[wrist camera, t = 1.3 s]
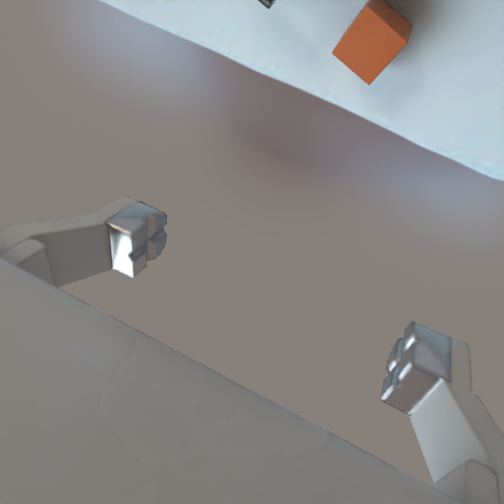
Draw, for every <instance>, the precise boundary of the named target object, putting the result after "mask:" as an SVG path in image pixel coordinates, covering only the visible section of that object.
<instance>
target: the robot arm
mask: <svg viewBox="0 0 504 504" xmlns="http://www.w3.org/2000/svg"><path fill="white" fill-rule="evenodd" d="M166 224H167V215H166V214H165V213H164V212H162V211H159V210H157V209H155V208H153V207H151V206H149V205H147V204H145V203H143V202H141V201H137V200H136V199H133V198H131V197H129V196H123V197H121V198H120V199H118V200H116V201H115V202H113V203H111V204H110V205H108V206H106V207H105V208H103V209H101V210H100V211H98V212H96V213H95V214H93V215H91V216H89V215H87V214H86V215H78V216H71V217H63V218H56V219H49V220H41V221H35V222H27V223H19V224H12V225H8V226H6V227H4V228H2V229H0V504H504V434H503V433H502V431H501V430H500V428H499V427H498V425H497V424H496V423H495V421H494V419H493V418H492V416H491V415H490V413H489V412H488V410H487V409H486V407H485V405H484V404H483V403H482V401H481V399H480V398H479V396H477V395H475V394H473V393H472V376H471V357H470V356H471V355H470V347H469V345H468V344H467V343H464V342H462V341H459V340H457V339H454V338H452V337H450V336H449V337H448V336H446V335H444V334H442V333H439V332H437V331H434V330H432V329H430V328H428V327H425V326H423V325H421V324H418V323H416V322H413V321H412V322H411V323H410V324H409V325H408V326H407V327H406V329H405V333H404V338H400V339H398V340H397V342H396V343H395V345H394V346H393V348H392V351H391V353H390V355H389V358H388V361H387V366H386V369H387V371H388V373H389V374H388V376H387V377H386V379H385V380H384V382H383V388H382V394H381V399H380V400H381V401H383V402H385V403H387V404H388V405H390V406H392V407H394V408H396V409H398V410H400V411H402V412H404V413H406V414H408V415H410V420H411V422H412V425H413V428H414V430H415V433H416V436H417V438H418V441H419V444H420V447H421V449H422V452H423V455H424V457H425V460H426V463H427V466H428V468H429V471H430V474H431V476H432V479H433V482H434V484H432V485H431V486H430V485H429V484H427V483H425V482H423V481H421V480H419V479H417V478H415V477H414V476H412V475H410V474H408V473H406V472H404V471H402V470H400V469H398V468H397V467H395V466H393V465H391V464H389V463H387V462H385V461H383V460H381V459H379V458H378V457H376V456H374V455H372V454H370V453H368V452H367V451H365V450H363V449H361V448H359V447H357V446H355V445H353V444H351V443H350V442H348V441H346V440H344V439H342V438H340V437H338V436H336V435H335V434H333V433H331V432H329V431H327V430H325V429H323V428H321V427H319V426H318V425H316V424H314V423H312V422H310V421H308V420H306V419H304V418H303V417H301V416H299V415H297V414H295V413H293V412H291V411H289V410H287V409H286V408H284V407H282V406H280V405H278V404H276V403H274V402H272V401H271V400H269V399H267V398H265V397H263V396H261V395H259V394H257V393H256V392H254V391H252V390H250V389H248V388H246V387H244V386H242V385H240V384H238V383H237V382H235V381H233V380H231V379H229V378H227V377H225V376H223V375H222V374H220V373H218V372H216V371H214V370H212V369H210V368H208V367H207V366H205V365H203V364H201V363H199V362H197V361H195V360H193V359H191V358H190V357H188V356H186V355H184V354H182V353H180V352H178V351H177V350H174V349H173V348H171V347H169V346H167V345H165V344H163V343H161V342H160V341H158V340H156V339H154V338H152V337H150V336H148V335H146V334H145V333H143V332H141V331H139V330H137V329H135V328H133V327H131V326H129V325H128V324H126V323H124V322H122V321H120V320H118V319H116V318H114V317H113V316H111V315H109V314H107V313H105V312H103V311H101V310H99V309H98V308H96V307H94V306H92V305H90V304H88V303H86V302H84V301H82V300H80V299H79V298H77V297H75V296H73V295H71V294H69V293H67V292H65V291H64V290H62V289H60V288H58V287H60V286H63V285H66V284H69V283H72V282H75V281H78V280H81V279H84V278H87V277H90V276H93V275H96V274H99V273H102V272H105V271H108V270H111V269H112V268H113V269H115V270H117V271H119V272H121V273H124V274H126V275H128V276H130V277H133V278H134V277H135V276H136V275H137V274H138V273H140V272H141V271H142V270H143V269H144V268H145V267H146V265H147V261H148V260H153V259H155V258H157V257H158V256H159V255H160V254H161V252H162V250H163V249H164V247H165V244H166V238H167V234H166V233H165V230H164V228H163V227H164V226H165V225H166Z"/></svg>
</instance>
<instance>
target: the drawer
mask: <svg viewBox="0 0 504 504" xmlns="http://www.w3.org/2000/svg"><path fill="white" fill-rule="evenodd" d="M258 1H259V2H261V3H262V4H263V5H264V6H265V7H266V8H268V9H270V8H271V6H272V5H273V4H274V2H275V0H258Z"/></svg>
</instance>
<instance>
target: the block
mask: <svg viewBox="0 0 504 504" xmlns="http://www.w3.org/2000/svg"><path fill="white" fill-rule="evenodd" d="M411 29H412V25H411V24H409V23H408V22H407V21H406V20H405V19H404V18H403V17H402V16H401V15H400V14H399V13H397V12H396V11H395V10H394V9H393V8H392V7H391V6H390V5H389V4H388V3H387V2H386V1H384V0H369V1H368V2H367V4H366V5H365V6H364V8H363V9H362V10H361V12H360V13H359V15H358V16H357V17H356V19H355V20H354V21H353V23H352V24H351V25H350V27H349V28H348V29H347V31H346V32H345V33H344V35H343V36H342V38H341V39H340V41H339V42H338V44H337V45H336V47H335V48H334V50H333V52H332V54H333V55H335V56H336V57H337V58H338V59H339V60H340V61H341V62H343V63H344V64H345V65H346V66H347V67H348V68H350V69H351V70H352V71H353V72H354V73H355V74H357V75H358V76H359V77H360V78H361V79H362V80H364V81H365V82H366V83H367V84H368V85H370V84H371V83H372V82H373V80H374V79H375V78H376V77H377V76H378V75H379V74H380V73H381V72H382V70H383V69H384V68H385V67H386V66H387V65H388V64H389V63H390V62H391V60H392V59H393V58H394V57H395V56H396V55H397V54H398V53H399V52H400V51H401V49H402V48H403V47H404V46H405V45H406V44H407V43H408V39H409V36H410V32H411Z"/></svg>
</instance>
